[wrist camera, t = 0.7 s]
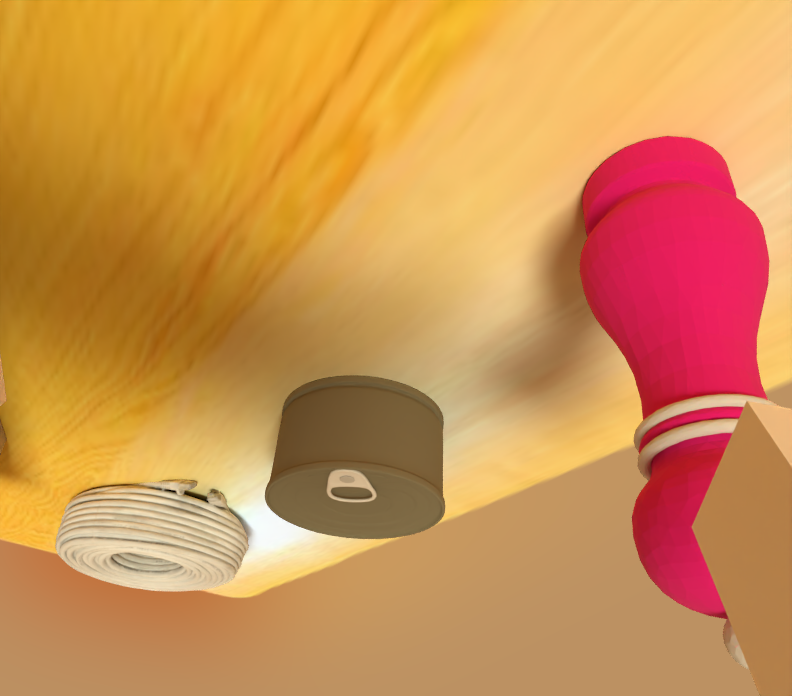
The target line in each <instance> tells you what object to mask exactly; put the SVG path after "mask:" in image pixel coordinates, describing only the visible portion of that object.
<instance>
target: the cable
mask: <svg viewBox="0 0 792 696" xmlns="http://www.w3.org/2000/svg"><path fill="white" fill-rule="evenodd" d="M196 485H197V483H196V481H191V480H168V481H167V480H166V481H165V480H163V481H162V482H149V483H141V484H133V485H127V486H113V487H102V488H96V489H92V490H89V491H86V492H83V493H81V494H79V495H77V496H76V497H75V498H73V499H72V501H71V502H70V503H69V504H68V505H67V506H66V509H65V514H64V515H63V517H62V522H61V525H60V528H59V530H58V534H57V537H56V551H57V553H58V555H59V556H60V557H61V558H62V559H63V560H64V561H65V562H66V563H67V564H68V565H69V566H71V567H72V568H74V569H76V570H77V571H79V572H81V573H84V574H86V575H89V576H91V577H94V578H97V579H99V580H103V581H106V582H110V583H113V584H117V585H121V586H126V587H131V588H139V589H145V590H153V591H191V590H203V589H209V588H214V587H217V586H220V585H223V584H226V583H228V582H230V581H231V580H232V579H233V578H234V577H235V575H236V573H237V572H238V569H239V568H240V567H241V562H242V560H243V557H244V555H245V553H246V551H247V550H248V546H249V545H248V537H247V535H246V533H245V531H244V528H243V526H242V524H241V522H240V521H239V520H238V519H237V518H236V517H235V516H234V515H233V514H231V513H230V510H229V508H228V506H227V505H226V500H225V498H224V496H223V495H222V494H221V493H220V491H215V490H212V491H211V493H208V495H207V500H208V502H209V503H208V502H205V501H203V500H200V499H196V498H193V497H190V496H186V495H183V494H184V491H185V490H190V489H192V488H194V487H195V486H196ZM160 488H162V490H161V489H160ZM165 489H170V490H175V491H176V493H175V492H171V491H166V490H165Z"/></svg>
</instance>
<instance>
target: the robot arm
mask: <svg viewBox="0 0 792 696" xmlns="http://www.w3.org/2000/svg"><path fill="white" fill-rule="evenodd" d="M6 401H7V400H6V393H5V386H4V378H3V371H2V363H1V356H0V406H1V405H2V404H3V403H5V402H6ZM692 529H693V532H694V534H695V537H696V539H697V542H698V544H699V547H700V549H701V552H702V554H703V557H704V559H705V561H706V564H707V566H708V569H709V571H710V574H711V576H712V579H713V581H714V584H715V586H716V589H717V591H718V594H719V596H720V598H721V601H722V603H723V606H724V608H725V611H726V613H727V616H728V618H729V621H730V623H731V626H732V628H733V631H734V633H735V636H736V638H737V640H738V643H739V645H740V648H741V650H742V653H743V655H744V658H745V660H746V663H747V665H748V668H749V670H750V672H751V675H752V677H753V680H754V682H755V685H756V687H757V690H758V692H759V695H760V696H792V409H790V408H785V407H779V406H774V405H768V404H762V403H757V402H751V401H746V404H745V406H744V408H743V411H742V413H741V415H740V418H739V420H738V422H737V424H736V427H735V429H734V431H733V434H732V436H731V438H730V440H729V443H728V445H727V447H726V450H725V452H724V454H723V456H722V459H721V461H720V463H719V466H718V468H717V470H716V472H715V475H714V477H713V479H712V482H711V484H710V486H709V488H708V491H707V493H706V495H705V498H704V500H703V502H702V504H701V507H700V509H699V511H698V514H697V516H696V518H695V520H694V523H693V525H692Z"/></svg>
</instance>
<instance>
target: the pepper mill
mask: <svg viewBox="0 0 792 696" xmlns="http://www.w3.org/2000/svg"><path fill="white" fill-rule="evenodd" d="M582 205H583V214H584V221H585V228H586V233H587V236H588V238H587V240H586V242H585V244H584V247H583V250H582V252H581V259H580V275H581V280H582V284H583V289H584V293H585V296H586V299H587V302H588V304H589V306H590V308H591V310H592V312H593V314H594V316H595V318H596V319H597V321H598V322H599V323H600V325H601V326H602V327H603V329H604V330H605V331H606V332H607V333H608V335H609V336H610V337H611V338H612V339H613V341H614V342H615V343H616V345H617V346H618V348H619V349H620V351H621V352H622V353H623V355H624V356H625V358H626V360H627V362H628V364H629V366H630V368H631V370H632V372H633V374H634V377H635V380H636V384H637V388H638V391H639V395H640V398H641V402H642V413H643V421H642V422H641V424H640V425H639V426H638V428H637V429H636V431H635V434H634V444H635V447H636V449H637V450H638V452H639V457H638V468H639V470H640V472H641V474H642V475H643V476H644V477H645V478H646V479H647V480H648V483H647V484H646V485H645V487H644V488H643V489H642V491H641V492H640V494H639V496H638V497H637V499H636V503H635V507H634V510H633V515H632V524H633V537H634V541H635V544H636V548H637V551H638V555H639V558H640V561H641V563H642V564H643V566H644V568H645V570H646V572H647V574H648V575H649V577H650V578H651V579H652V581H653V582H654V583H655V584H656V585H657V586H658V587H659V588H660V589H661V591H662V592H663V593H665V594H666V595H667V596H669V597H670V598H672V599H673V600H675V601H676V602H677V603H679V604H681V605H683V606H685V607H687V608H689V609H691V610H694V611H696V612H700V613H703V614H706V615H709V616H713V617H719V618H724V619H727V621H726V623H725V625H724V629H723V639H724V644H725V646H726V648H727V650H728V652H729V654H730V655H731V656H732V657H733V659H734V660H735V661H736V662H738V663H739V664H740V665H742V666H744V667H745V668H747V669H749V668H748V665H747V663H746V660H745V658H744V655H743V653H742V650H741V648H740V645H739V643H738V640H737V638H736V636H735V633H734V631H733V628H732V626H731V623H730V621H729V618H728V616H727V613H726V611H725V608H724V606H723V603H722V601H721V598H720V596H719V594H718V591H717V589H716V586H715V584H714V581H713V579H712V576H711V574H710V571H709V569H708V566H707V564H706V561H705V559H704V557H703V554H702V552H701V549H700V547H699V544H698V542H697V539H696V537H695V534H694V532H693V529H692V525H693V523H694V520H695V518H696V516H697V514H698V511H699V509H700V507H701V504H702V502H703V500H704V498H705V495H706V493H707V491H708V488H709V486H710V484H711V482H712V479H713V477H714V475H715V472H716V470H717V468H718V466H719V463H720V461H721V459H722V456H723V454H724V452H725V450H726V447H727V445H728V443H729V440H730V438H731V436H732V434H733V431H734V429H735V427H736V424H737V422H738V420H739V418H740V415H741V413H742V411H743V408H744V406H745V404H746V401H751V402H757V403H762V404H768V405H774V406H778V405H776V404H775V403H773V402H771V401H769V400H768V399H767V397H766V394H765V392H764V389H763V387H762V384H761V380H760V375H759V369H758V364H757V333H758V328H759V322H760V317H761V313H762V308H763V304H764V300H765V295H766V291H767V287H768V277H769V256H768V249H767V245H766V240H765V235H764V230H763V227H762V225H761V223H760V221H759V219H758V218H757V216H756V214H755V213H754V212H753V211H752V210H751V209H750V208H749V207H748V206H747V205H745V204H744V203H743V202H742V201H741V200H739V199H737V198H736V191H735V188H734V185H733V182H732V179H731V176H730V173H729V170H728V167H727V164H726V162H725V160H724V159H723V157H722V156H721V155H720V154H719V153H718V152H717V151H716V150H715V149H714V148H713V147H711V146H709V145H707V144H705V143H703V142H701V141H698V140H695V139H692V138H685V137H671V136H665V137H659V138H653V139H648V140H644V141H641V142H638V143H636V144H633V145H630V146H628V147H625V148H624V149H622V150H621V151H619V152H618V153H616V154H614V155H613V156H611V157H610V158H608V159H607V160H606V161H605V162H604V163H603V164H602V165H601V166H600V167H599V168H598V169H597V170H596V171H595V172H594V174H593V175H592V176H591V178H590V179H589V181H588V183H587V185H586V188H585V191H584V194H583V200H582ZM779 407H780V406H779Z"/></svg>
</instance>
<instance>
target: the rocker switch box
mask: <svg viewBox="0 0 792 696" xmlns="http://www.w3.org/2000/svg"><path fill="white" fill-rule="evenodd" d="M6 440H7V439H6V436H5V433H4V430H3V427H2V424H1V421H0V454H1V452H2V449H3V447H4V445H5V442H6Z"/></svg>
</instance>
